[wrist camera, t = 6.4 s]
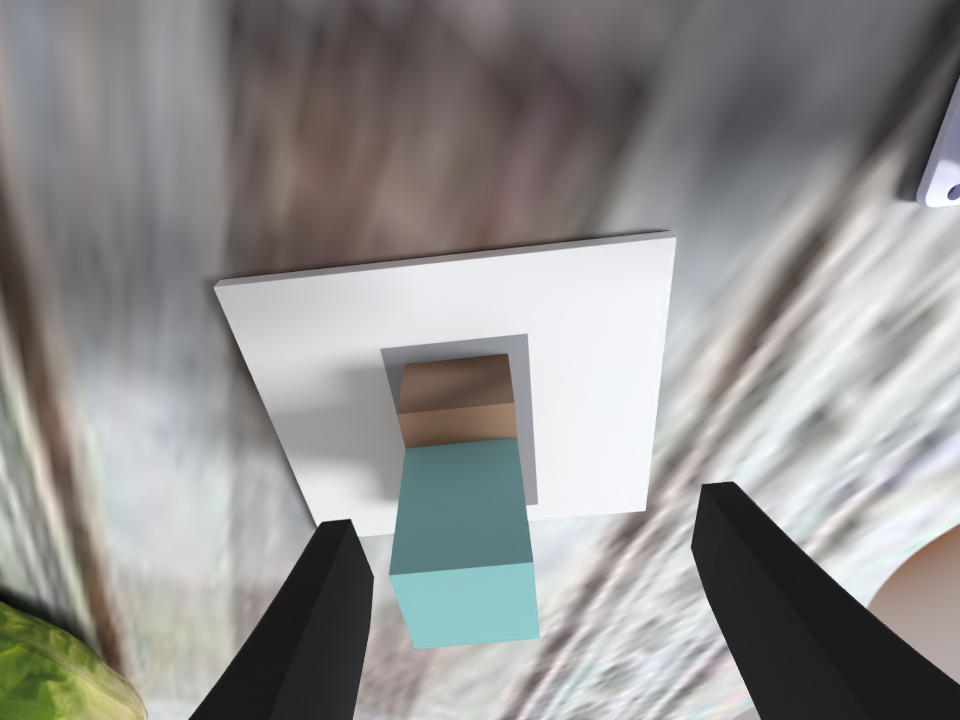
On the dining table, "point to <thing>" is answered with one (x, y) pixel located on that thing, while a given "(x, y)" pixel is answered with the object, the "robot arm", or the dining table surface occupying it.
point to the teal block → (464, 546)
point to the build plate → (464, 334)
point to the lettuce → (57, 675)
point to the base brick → (457, 401)
